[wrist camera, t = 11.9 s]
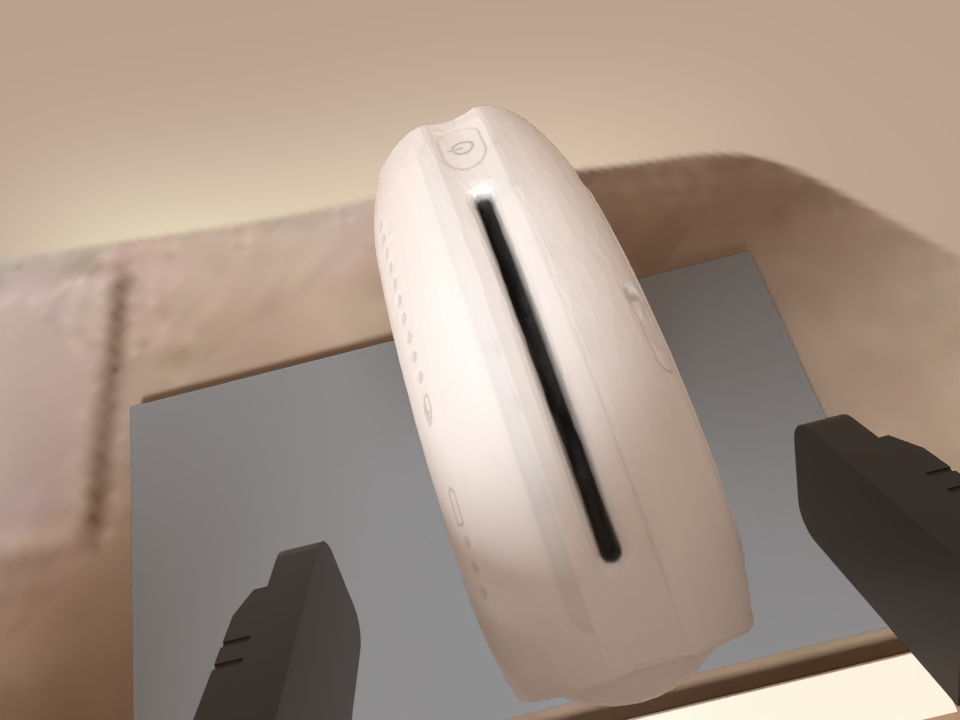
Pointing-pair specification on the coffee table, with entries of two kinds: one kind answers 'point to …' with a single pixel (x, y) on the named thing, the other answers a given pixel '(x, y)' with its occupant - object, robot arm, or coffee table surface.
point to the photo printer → (552, 419)
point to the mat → (424, 537)
